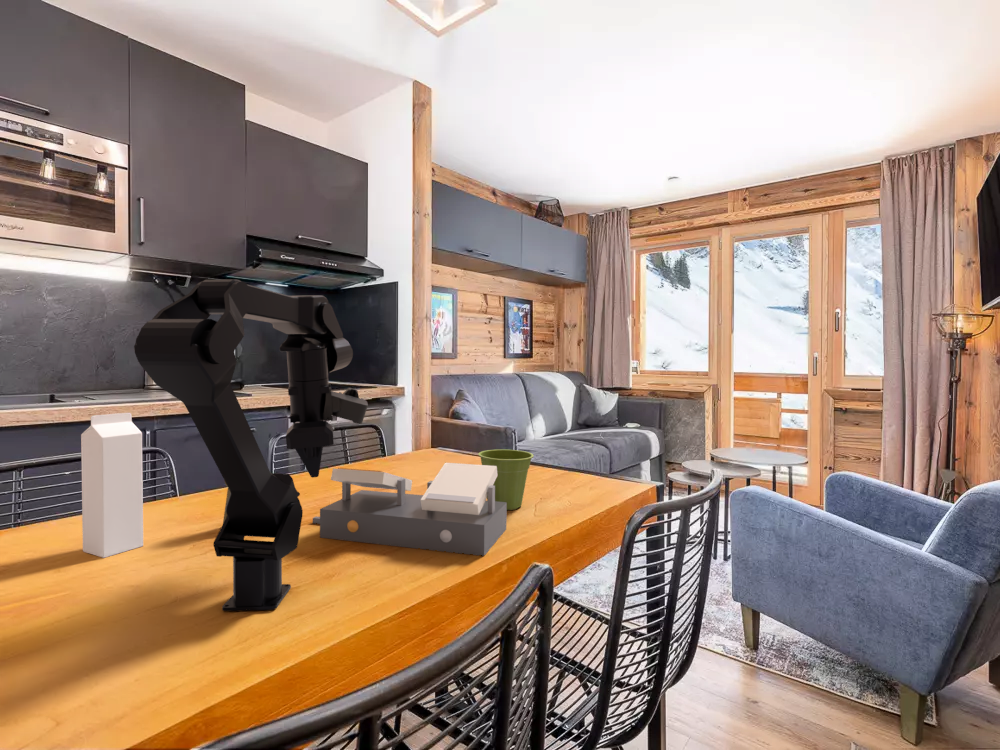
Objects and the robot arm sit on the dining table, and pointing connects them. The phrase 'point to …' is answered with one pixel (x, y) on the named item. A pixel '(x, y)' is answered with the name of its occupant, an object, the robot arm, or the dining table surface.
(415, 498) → the rocker switch box
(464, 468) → the white rocker
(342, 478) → the orange striped rocker plate
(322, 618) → the dining table surface
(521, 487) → the plant pot
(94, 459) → the milk
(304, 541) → the dining table surface
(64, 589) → the dining table surface
